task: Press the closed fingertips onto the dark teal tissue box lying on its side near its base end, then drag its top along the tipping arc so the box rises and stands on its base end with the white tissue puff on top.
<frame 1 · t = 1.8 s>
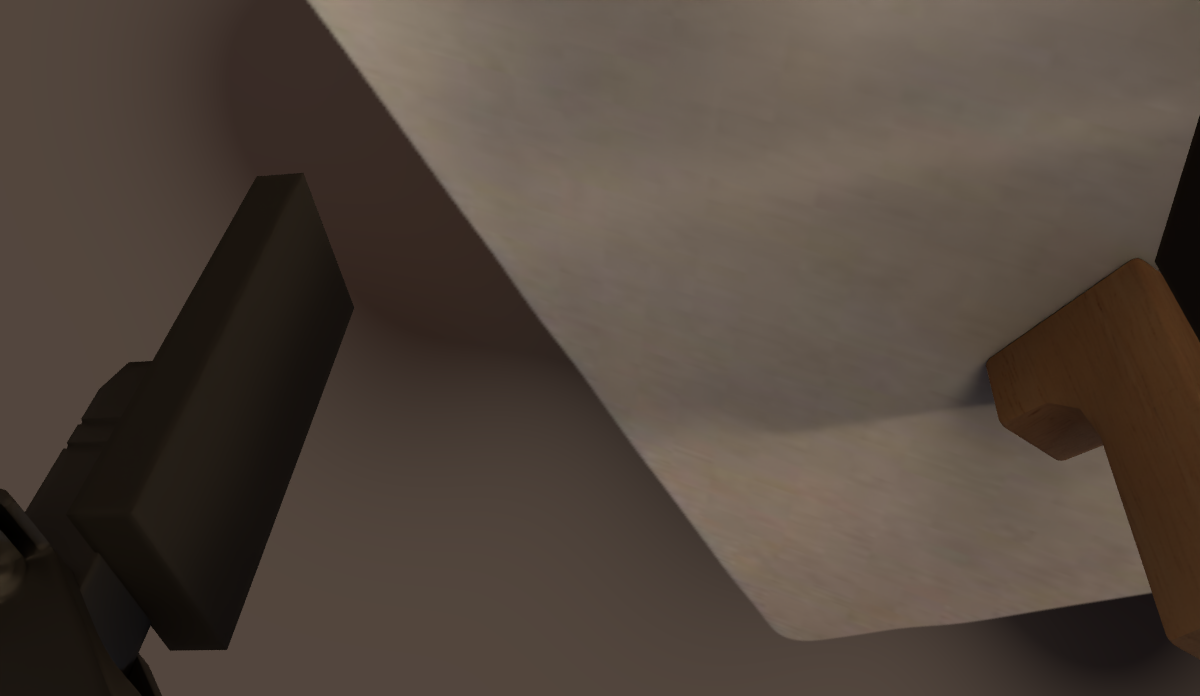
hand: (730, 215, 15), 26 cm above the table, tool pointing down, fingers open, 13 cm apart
wooden block: (1084, 328, 49), on the table
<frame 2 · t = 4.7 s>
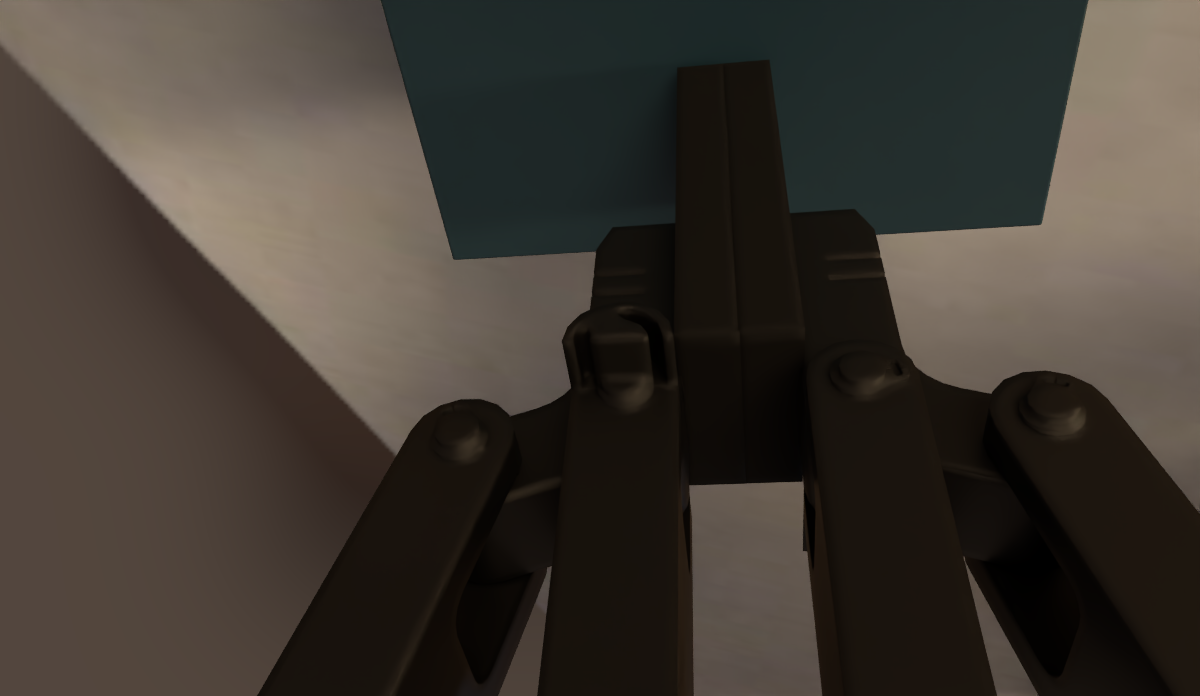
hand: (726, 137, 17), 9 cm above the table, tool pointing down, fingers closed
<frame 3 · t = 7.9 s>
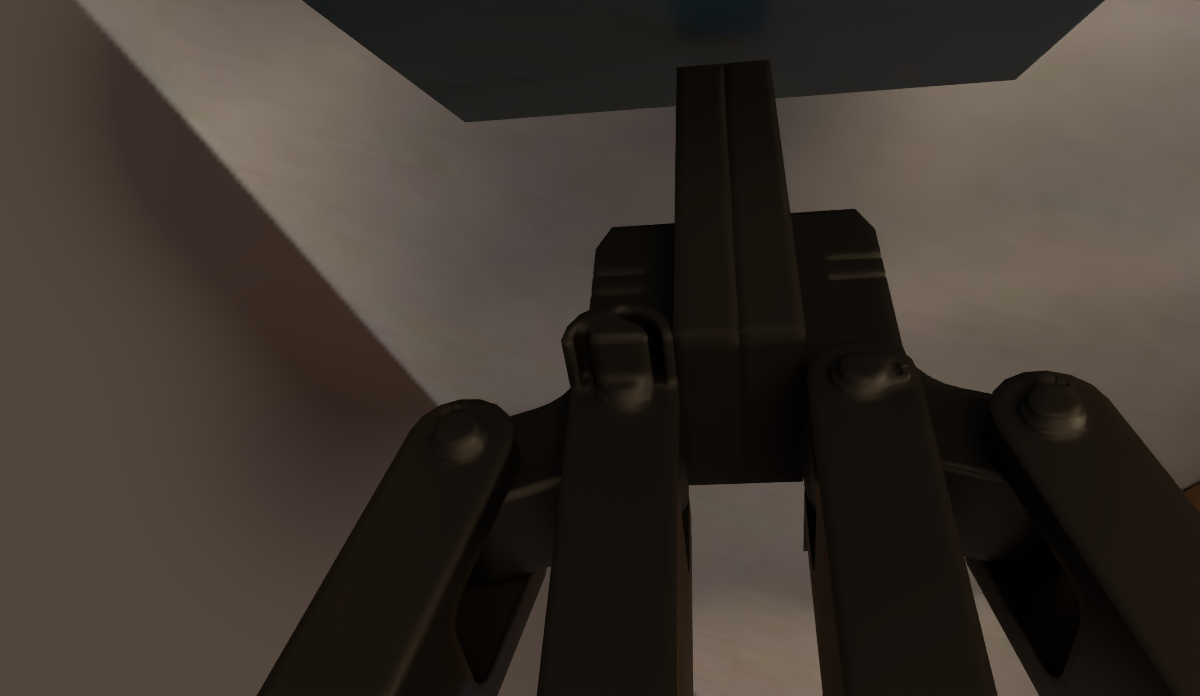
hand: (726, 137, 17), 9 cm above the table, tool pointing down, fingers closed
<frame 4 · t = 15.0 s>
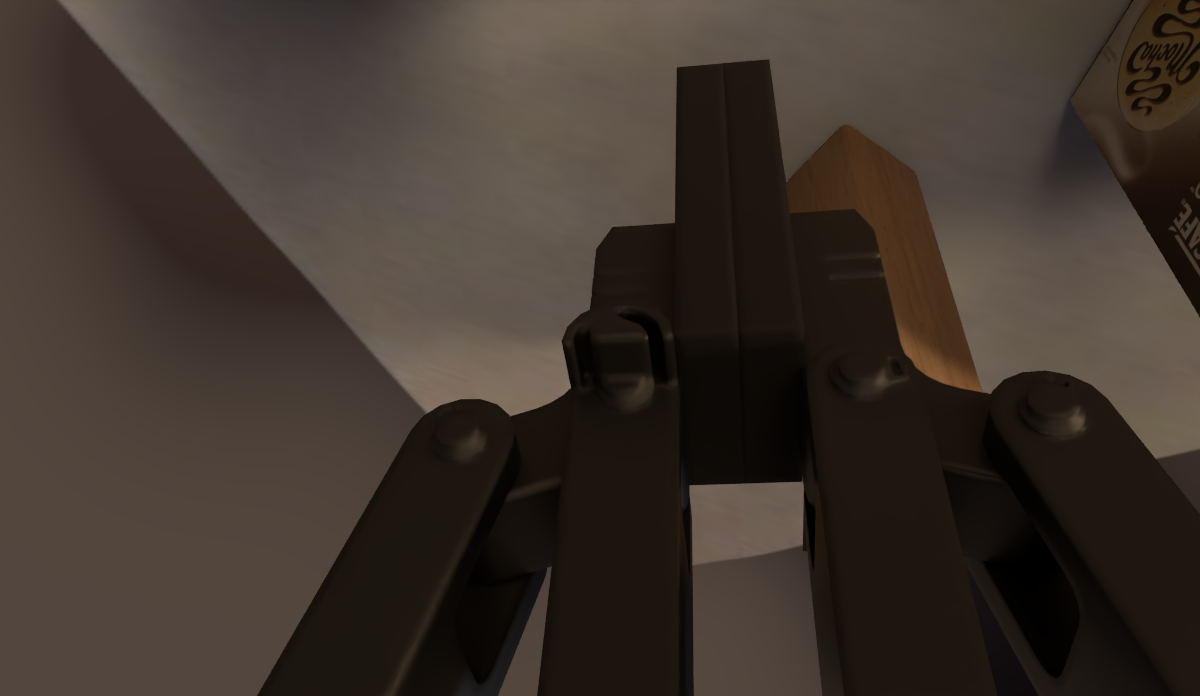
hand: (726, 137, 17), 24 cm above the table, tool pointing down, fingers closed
wooden block: (812, 209, 47), on the table
coffee box: (1199, 18, 40), on the table
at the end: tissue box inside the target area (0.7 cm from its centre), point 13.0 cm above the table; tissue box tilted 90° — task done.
